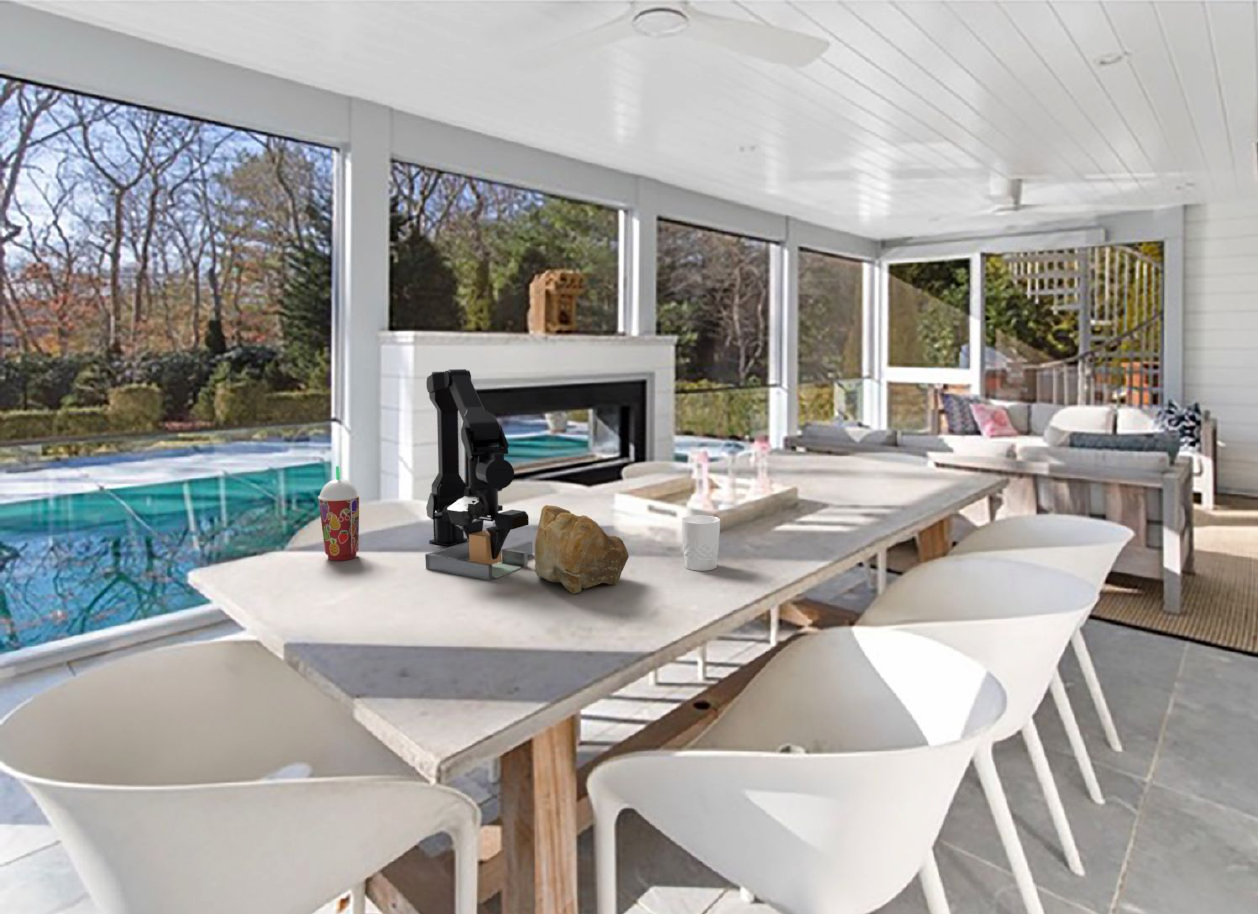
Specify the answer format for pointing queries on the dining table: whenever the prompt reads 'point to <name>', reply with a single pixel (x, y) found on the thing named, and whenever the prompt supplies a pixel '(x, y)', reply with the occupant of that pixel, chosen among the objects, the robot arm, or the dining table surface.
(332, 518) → the smoothie
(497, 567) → the pad
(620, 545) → the rough brown rock
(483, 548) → the orange block
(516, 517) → the robot arm
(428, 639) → the dining table surface
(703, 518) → the white cup
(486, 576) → the steel rail course
